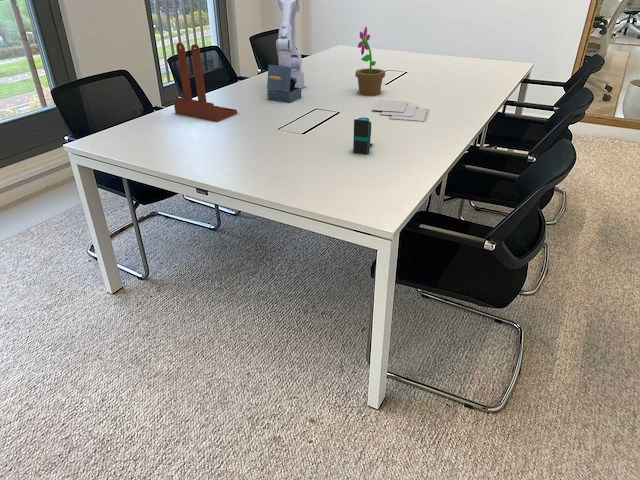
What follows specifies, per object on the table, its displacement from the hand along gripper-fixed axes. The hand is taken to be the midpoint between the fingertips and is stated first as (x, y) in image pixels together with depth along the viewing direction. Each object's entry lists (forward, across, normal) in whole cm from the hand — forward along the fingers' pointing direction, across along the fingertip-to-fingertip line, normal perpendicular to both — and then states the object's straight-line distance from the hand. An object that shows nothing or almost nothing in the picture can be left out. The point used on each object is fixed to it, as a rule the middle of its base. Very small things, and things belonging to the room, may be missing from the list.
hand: (286, 94), depth 237 cm
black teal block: (+2, +63, -44) cm, 77 cm away
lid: (-9, 0, -5) cm, 10 cm away
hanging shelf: (+2, -17, -38) cm, 42 cm away
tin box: (+1, 0, -2) cm, 2 cm away
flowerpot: (+2, +32, +26) cm, 41 cm away
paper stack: (+1, +56, +6) cm, 57 cm away
